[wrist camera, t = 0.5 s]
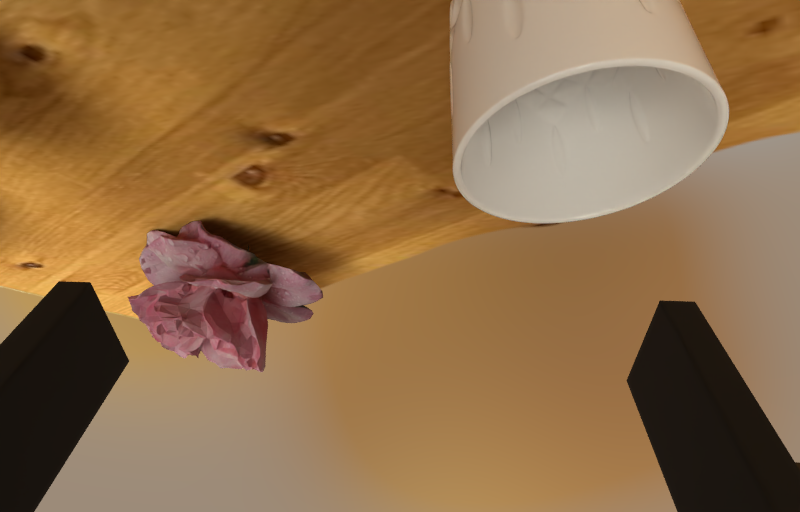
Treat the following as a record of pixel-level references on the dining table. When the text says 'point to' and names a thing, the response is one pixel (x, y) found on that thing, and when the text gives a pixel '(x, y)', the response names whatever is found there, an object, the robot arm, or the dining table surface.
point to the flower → (217, 297)
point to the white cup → (577, 105)
